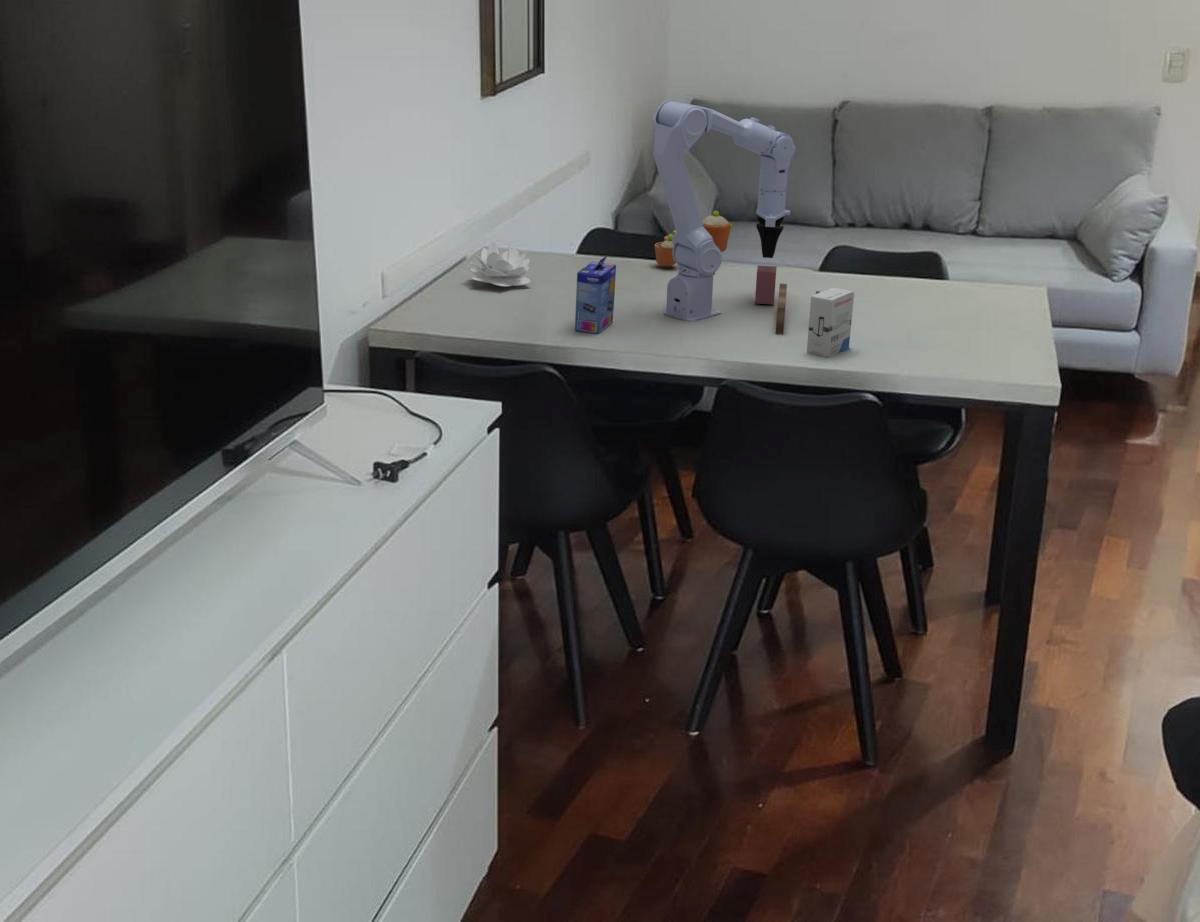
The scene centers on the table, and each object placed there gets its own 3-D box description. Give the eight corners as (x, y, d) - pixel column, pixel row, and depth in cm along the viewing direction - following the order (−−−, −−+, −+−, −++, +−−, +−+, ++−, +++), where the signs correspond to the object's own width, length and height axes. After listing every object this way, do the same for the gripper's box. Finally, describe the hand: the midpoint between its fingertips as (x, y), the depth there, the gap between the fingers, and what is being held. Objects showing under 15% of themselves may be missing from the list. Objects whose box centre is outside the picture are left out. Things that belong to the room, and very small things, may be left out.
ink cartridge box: (600, 335, 287) (601, 263, 281) (573, 331, 288) (574, 260, 283) (615, 321, 296) (617, 251, 290) (589, 318, 297) (591, 249, 292)
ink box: (828, 344, 284) (833, 285, 280) (850, 349, 282) (855, 290, 277) (805, 354, 278) (809, 294, 274) (827, 359, 275) (832, 299, 271)
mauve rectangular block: (773, 304, 309) (775, 272, 307) (754, 303, 310) (756, 271, 307) (774, 297, 314) (776, 266, 311) (755, 296, 315) (757, 265, 312)
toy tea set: (673, 240, 361) (674, 202, 358) (734, 246, 357) (736, 207, 353) (644, 265, 338) (646, 224, 335) (709, 272, 334) (711, 230, 330)
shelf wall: (783, 334, 290) (785, 307, 288) (775, 333, 290) (777, 307, 288) (785, 309, 306) (787, 283, 304) (778, 308, 306) (779, 283, 304)
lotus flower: (508, 294, 313) (508, 254, 310) (453, 282, 320) (452, 244, 317) (546, 279, 324) (546, 241, 321) (492, 269, 332) (491, 231, 328)
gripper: (791, 197, 296) (787, 262, 301) (791, 183, 309) (786, 245, 315) (757, 195, 297) (752, 260, 302) (758, 181, 310) (754, 244, 315)
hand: (768, 253), depth 308 cm, fingers open, 7 cm apart
